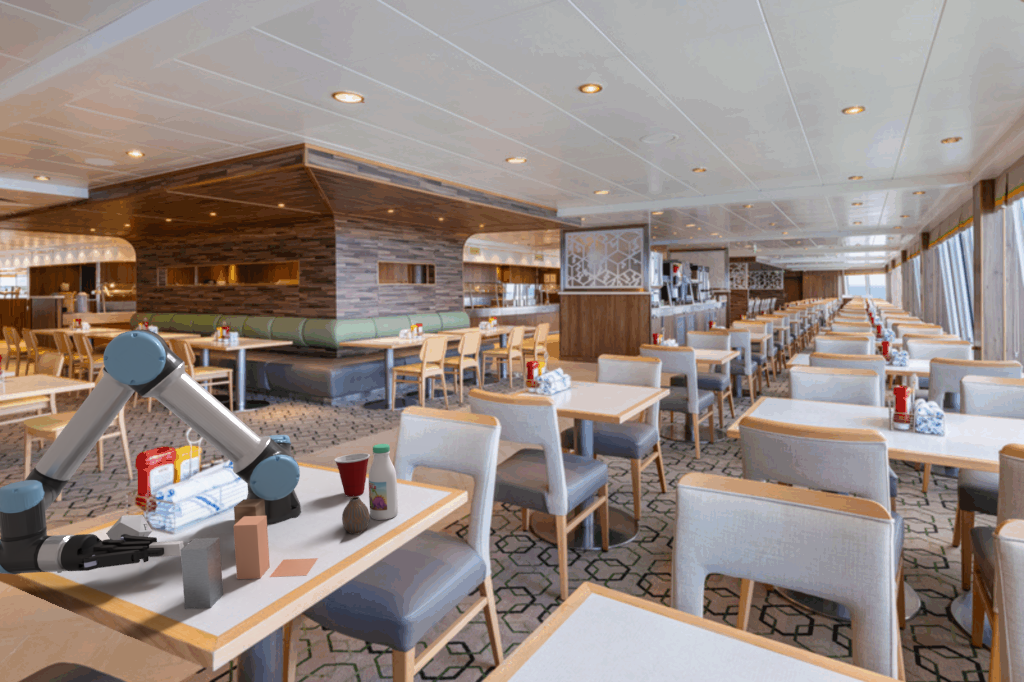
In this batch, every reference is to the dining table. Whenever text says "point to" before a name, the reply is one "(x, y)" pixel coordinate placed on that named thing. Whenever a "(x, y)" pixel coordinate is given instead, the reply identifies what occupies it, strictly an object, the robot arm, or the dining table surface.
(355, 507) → the vase
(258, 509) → the walnut post
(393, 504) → the milk bottle
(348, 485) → the plastic cup
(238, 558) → the terracotta post
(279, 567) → the terracotta coaster
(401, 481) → the dining table surface
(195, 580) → the grey post
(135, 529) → the die
